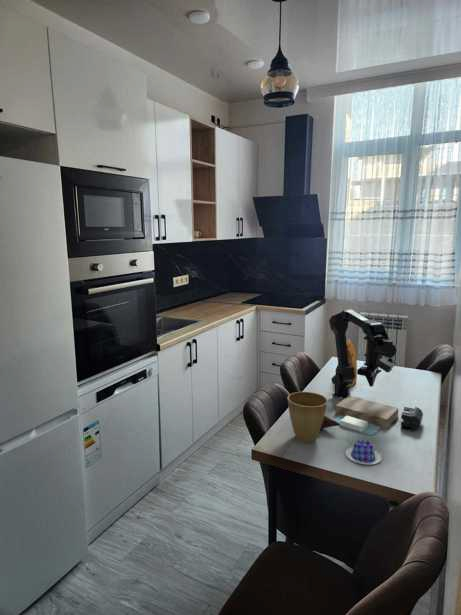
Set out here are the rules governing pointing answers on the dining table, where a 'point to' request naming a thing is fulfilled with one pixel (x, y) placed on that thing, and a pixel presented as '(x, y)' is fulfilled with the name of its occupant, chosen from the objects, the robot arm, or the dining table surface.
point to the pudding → (363, 452)
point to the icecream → (328, 423)
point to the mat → (368, 430)
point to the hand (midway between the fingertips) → (371, 386)
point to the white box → (354, 423)
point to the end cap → (411, 419)
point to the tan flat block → (367, 411)
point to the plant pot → (306, 414)
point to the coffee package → (352, 359)
